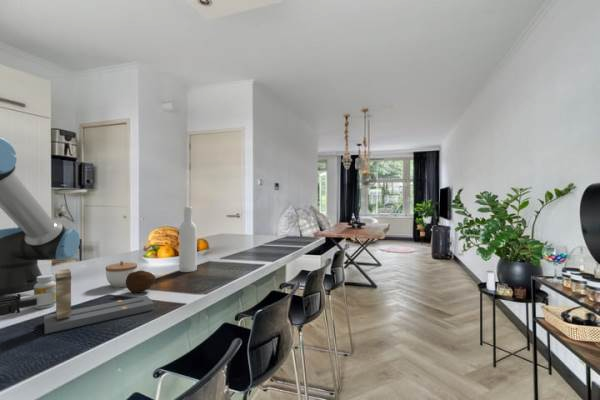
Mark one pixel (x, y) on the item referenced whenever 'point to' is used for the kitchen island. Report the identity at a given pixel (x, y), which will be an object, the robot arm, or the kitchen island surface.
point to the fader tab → (63, 293)
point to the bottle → (187, 243)
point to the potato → (140, 281)
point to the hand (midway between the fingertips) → (53, 297)
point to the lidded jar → (119, 273)
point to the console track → (98, 313)
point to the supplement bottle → (45, 288)
